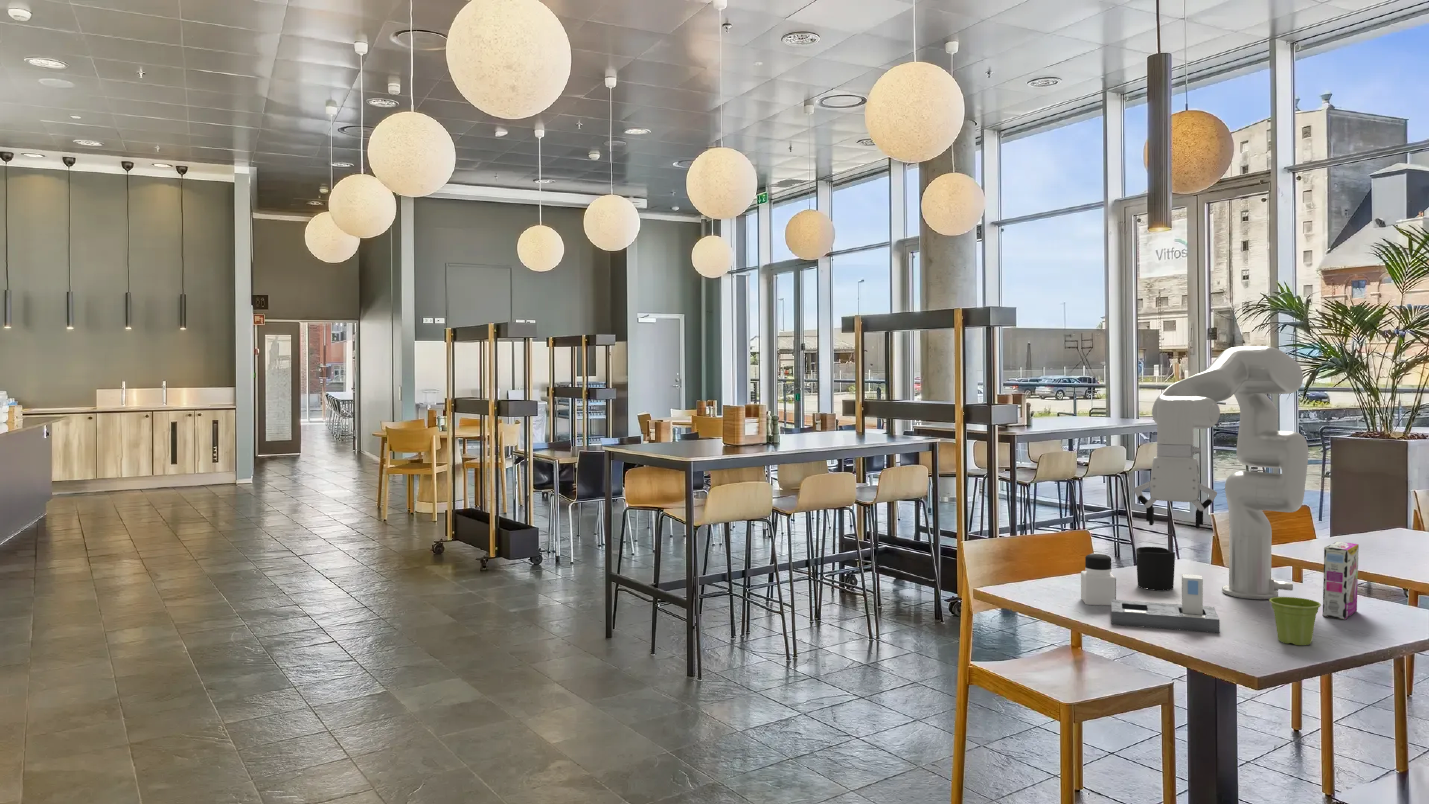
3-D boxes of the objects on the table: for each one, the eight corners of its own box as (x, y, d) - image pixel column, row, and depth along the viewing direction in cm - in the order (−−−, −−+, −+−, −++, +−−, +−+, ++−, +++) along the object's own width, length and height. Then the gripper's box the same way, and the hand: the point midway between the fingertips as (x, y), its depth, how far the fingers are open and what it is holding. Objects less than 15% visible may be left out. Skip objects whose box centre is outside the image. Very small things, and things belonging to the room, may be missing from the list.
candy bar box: (1347, 620, 220) (1347, 549, 219) (1322, 617, 223) (1322, 547, 223) (1358, 611, 228) (1359, 543, 227) (1334, 608, 231) (1335, 540, 231)
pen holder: (1179, 586, 256) (1179, 549, 255) (1168, 593, 249) (1168, 554, 248) (1142, 581, 262) (1142, 545, 261) (1131, 588, 255) (1131, 550, 254)
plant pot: (1259, 636, 208) (1259, 597, 208) (1300, 635, 209) (1300, 595, 209) (1288, 649, 199) (1288, 607, 199) (1331, 647, 200) (1331, 606, 200)
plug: (1200, 622, 220) (1201, 575, 219) (1202, 628, 216) (1203, 579, 215) (1181, 621, 221) (1181, 574, 221) (1183, 626, 217) (1183, 578, 217)
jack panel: (1213, 619, 222) (1213, 606, 222) (1219, 633, 211) (1219, 618, 211) (1111, 611, 231) (1111, 598, 231) (1111, 624, 220) (1111, 610, 219)
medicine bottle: (1116, 606, 236) (1116, 557, 236) (1085, 605, 237) (1085, 557, 237) (1110, 599, 243) (1110, 552, 243) (1080, 598, 244) (1080, 551, 244)
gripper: (1218, 452, 219) (1217, 526, 219) (1135, 449, 227) (1135, 521, 228) (1216, 454, 212) (1216, 531, 213) (1132, 451, 221) (1131, 525, 221)
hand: (1174, 526), depth 220 cm, fingers open, 9 cm apart
